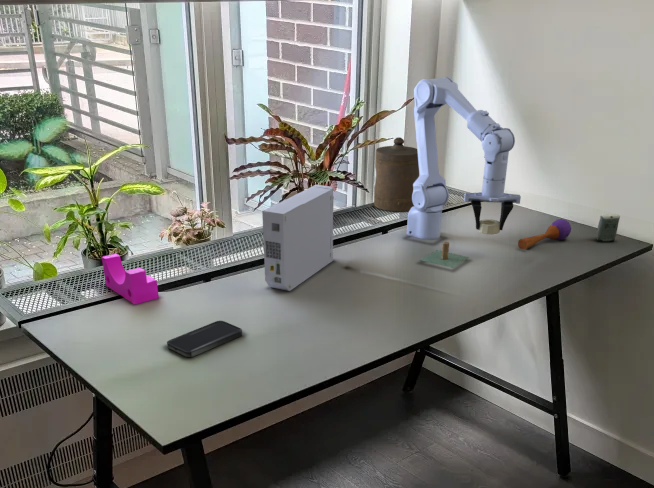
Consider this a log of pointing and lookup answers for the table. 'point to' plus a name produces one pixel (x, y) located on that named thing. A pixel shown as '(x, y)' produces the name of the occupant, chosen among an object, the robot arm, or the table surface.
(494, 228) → the tape roll
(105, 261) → the toy block
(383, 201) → the wooden container
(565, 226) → the maraca
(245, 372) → the table surface
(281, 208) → the game console
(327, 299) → the table surface
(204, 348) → the phone
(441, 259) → the tape stand
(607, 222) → the grey upright rounded block
